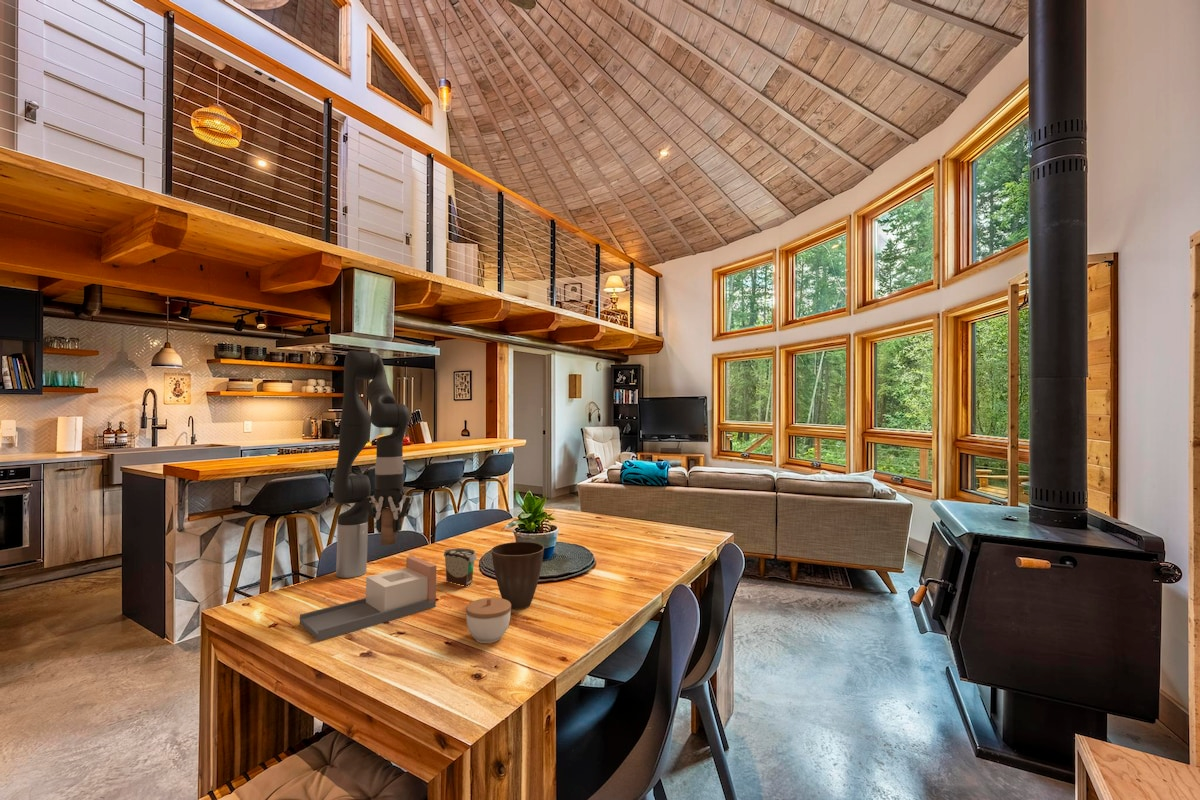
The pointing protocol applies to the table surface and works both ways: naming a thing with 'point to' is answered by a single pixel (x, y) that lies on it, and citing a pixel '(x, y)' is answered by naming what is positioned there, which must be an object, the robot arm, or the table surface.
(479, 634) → the lidded jar
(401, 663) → the table surface
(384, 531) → the dowel
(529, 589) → the plant pot
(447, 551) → the food container
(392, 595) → the socket block
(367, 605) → the track
